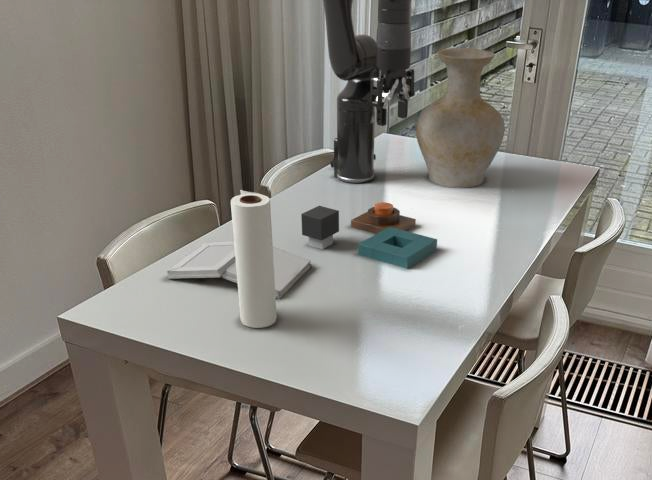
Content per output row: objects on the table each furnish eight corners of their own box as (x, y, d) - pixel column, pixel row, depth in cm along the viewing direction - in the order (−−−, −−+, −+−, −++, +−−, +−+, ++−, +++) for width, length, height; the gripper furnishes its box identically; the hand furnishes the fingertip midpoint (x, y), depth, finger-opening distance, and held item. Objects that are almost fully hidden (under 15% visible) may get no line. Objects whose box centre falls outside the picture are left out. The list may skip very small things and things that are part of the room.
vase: (418, 163, 207) (424, 43, 191) (499, 168, 205) (512, 47, 189) (409, 189, 189) (414, 59, 173) (498, 195, 187) (512, 64, 171)
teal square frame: (358, 255, 155) (358, 243, 154) (389, 237, 163) (389, 226, 162) (407, 269, 150) (407, 257, 148) (436, 250, 158) (437, 239, 157)
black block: (302, 246, 158) (301, 213, 154) (319, 237, 162) (319, 205, 158) (321, 252, 156) (321, 219, 152) (339, 242, 160) (339, 210, 156)
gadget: (311, 266, 150) (311, 248, 148) (280, 299, 138) (279, 280, 136) (206, 249, 155) (204, 232, 153) (166, 279, 143) (164, 261, 141)
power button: (370, 213, 166) (371, 206, 165) (380, 208, 169) (381, 201, 168) (386, 217, 164) (386, 210, 163) (396, 212, 167) (396, 204, 166)
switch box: (350, 227, 167) (350, 212, 165) (373, 215, 174) (374, 200, 172) (393, 239, 162) (394, 223, 160) (415, 226, 169) (416, 211, 167)
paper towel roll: (270, 330, 128) (263, 206, 116) (235, 327, 129) (224, 203, 117) (282, 311, 134) (277, 191, 122) (249, 307, 135) (240, 188, 123)
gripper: (397, 38, 173) (395, 113, 182) (360, 47, 163) (360, 125, 172) (425, 42, 170) (422, 117, 179) (389, 51, 160) (388, 130, 169)
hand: (392, 121), depth 175 cm, fingers open, 8 cm apart
